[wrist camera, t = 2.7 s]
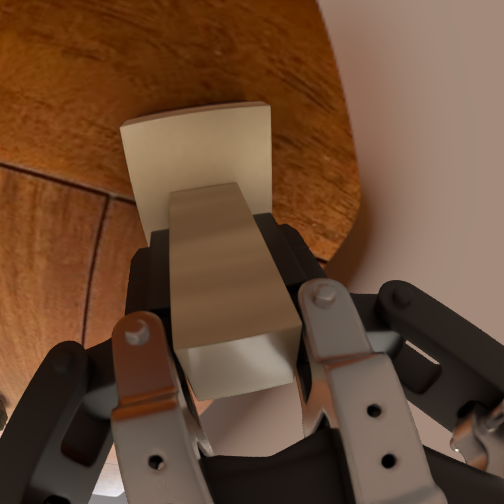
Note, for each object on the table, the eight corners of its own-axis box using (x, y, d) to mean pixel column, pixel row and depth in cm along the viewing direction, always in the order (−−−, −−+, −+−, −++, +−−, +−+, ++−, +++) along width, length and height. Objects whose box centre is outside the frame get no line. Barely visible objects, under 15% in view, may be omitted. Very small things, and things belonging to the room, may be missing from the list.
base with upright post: (132, 112, 11) (37, 237, 3) (250, 95, 12) (397, 181, 4) (164, 259, 16) (175, 437, 8) (256, 243, 17) (324, 406, 9)
